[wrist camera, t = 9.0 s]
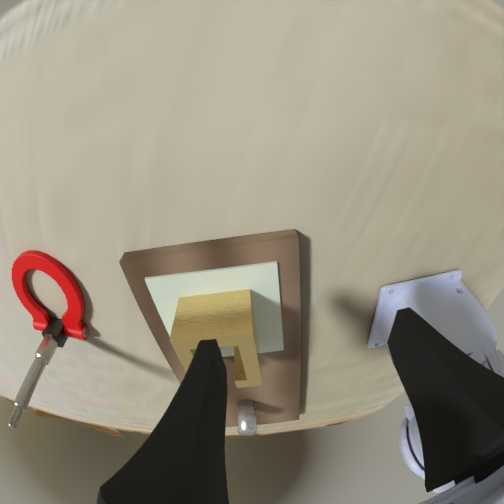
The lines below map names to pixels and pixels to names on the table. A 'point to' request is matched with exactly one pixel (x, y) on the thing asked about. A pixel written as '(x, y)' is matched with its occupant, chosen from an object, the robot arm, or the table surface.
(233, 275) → the sage pad
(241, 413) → the steel post
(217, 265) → the stand board
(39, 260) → the tow hook
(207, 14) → the table surface
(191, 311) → the wooden box
